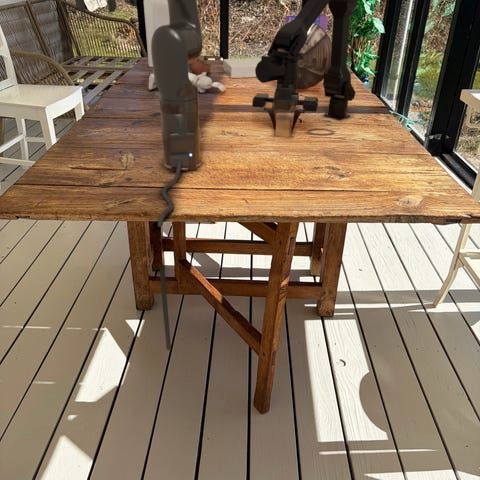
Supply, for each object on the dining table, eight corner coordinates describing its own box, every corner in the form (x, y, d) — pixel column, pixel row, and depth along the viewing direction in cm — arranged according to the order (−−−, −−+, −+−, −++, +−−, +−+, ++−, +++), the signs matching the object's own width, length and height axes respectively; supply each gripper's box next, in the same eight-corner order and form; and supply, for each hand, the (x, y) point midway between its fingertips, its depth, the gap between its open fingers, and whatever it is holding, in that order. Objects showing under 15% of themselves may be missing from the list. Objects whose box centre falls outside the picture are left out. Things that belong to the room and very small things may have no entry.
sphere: (332, 84, 199) (340, 18, 186) (325, 99, 179) (333, 26, 166) (274, 79, 205) (277, 15, 192) (260, 93, 184) (263, 23, 171)
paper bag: (192, 61, 237) (190, -2, 222) (188, 67, 224) (186, 1, 210) (154, 60, 237) (149, -3, 223) (148, 66, 225) (143, 0, 210)
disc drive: (281, 76, 210) (281, 64, 208) (231, 78, 206) (231, 66, 203) (269, 68, 225) (270, 57, 222) (223, 70, 220) (223, 58, 218)
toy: (168, 102, 172) (167, 83, 168) (144, 87, 190) (143, 69, 186) (228, 94, 182) (228, 76, 179) (199, 80, 201) (199, 63, 197)
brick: (277, 131, 146) (278, 115, 144) (290, 132, 146) (292, 116, 143) (275, 136, 142) (276, 120, 140) (288, 137, 142) (290, 121, 139)
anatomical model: (204, 86, 208) (191, 72, 218) (219, 73, 207) (206, 59, 217) (188, 66, 199) (175, 52, 208) (204, 52, 198) (190, 38, 207)
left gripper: (53, -63, 115) (65, 11, 124) (107, -62, 113) (115, 13, 121) (69, -62, 122) (79, 8, 130) (121, -61, 119) (128, 10, 128)
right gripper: (249, 81, 130) (247, 136, 138) (317, 86, 127) (312, 142, 135) (256, 73, 140) (255, 125, 148) (320, 77, 136) (315, 130, 144)
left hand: (97, 11), depth 126 cm, fingers open, 8 cm apart
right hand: (283, 130), depth 144 cm, fingers open, 5 cm apart
